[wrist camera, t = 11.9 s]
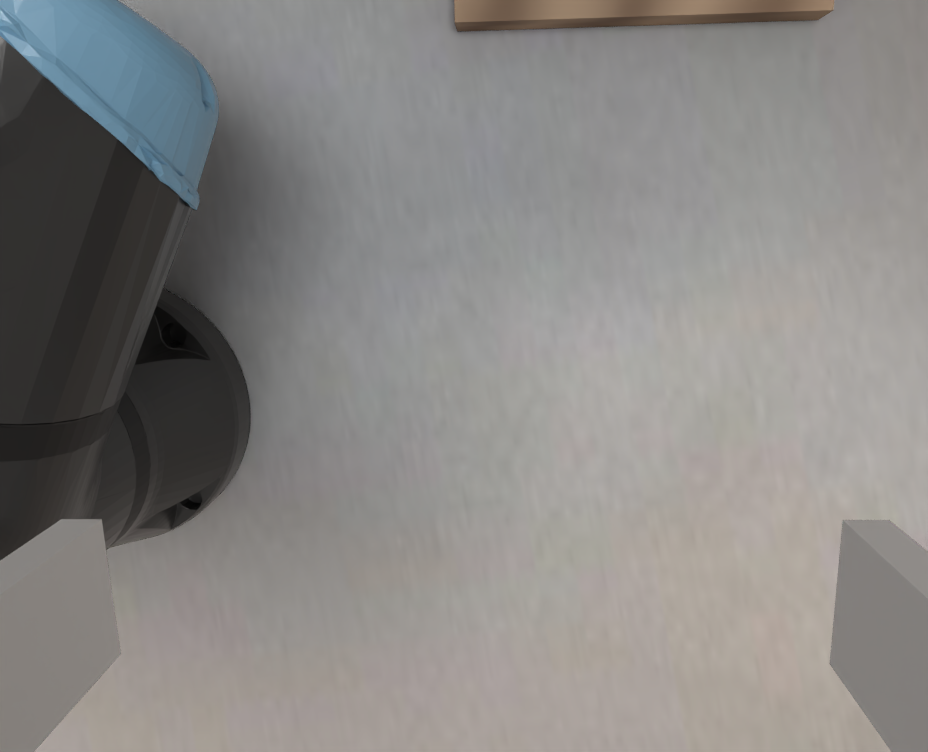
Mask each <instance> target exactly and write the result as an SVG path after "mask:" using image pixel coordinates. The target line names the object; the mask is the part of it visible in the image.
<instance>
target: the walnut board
mask: <svg viewBox="0 0 928 752" xmlns="http://www.w3.org/2000/svg"><path fill="white" fill-rule="evenodd" d="M454 4H455V25H456V28H457V31H484V30H516V29H548V28H579V27H611V26H642V25H674V24H705V23H737V22H768V21H800V20H819V19H820V18H822V17H823V16H825V15H826V14H828V13H830V12H831V11H833V7H834V0H454Z"/></svg>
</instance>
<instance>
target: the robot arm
mask: <svg viewBox="0 0 928 752" xmlns="http://www.w3.org/2000/svg"><path fill="white" fill-rule="evenodd" d="M218 116H219V103H218V96H217V92H216V89H215V86H214V83H213V81H212V79H211V77H210V76H209V74H208V73H207V71H206V70H205V68H204V67H203V65H202V64H201V63H200V62H199V61H198V60H197V59H196V58H195V57H194V56H193V55H192V54H191V53H190V52H189V51H188V50H186V49H185V48H184V47H183V46H181V45H180V44H179V43H177V42H176V41H175V40H173V39H172V38H171V37H169V36H168V35H166V34H165V33H164V32H162V31H161V30H160V29H158V28H157V27H156V26H154V25H153V24H152V23H150V22H149V21H147V20H146V19H144V18H143V17H141V16H140V15H139V14H137V13H136V12H134V11H133V10H131V9H130V8H128V7H127V6H126V5H124V4H123V3H121V2H120V1H118V0H0V752H34V751H35V750H36V749H37V748H38V747H39V746H40V745H41V743H42V742H43V741H44V740H45V739H46V738H47V737H48V735H49V734H50V733H51V732H52V731H53V730H54V729H55V728H56V726H57V725H58V724H59V723H60V722H61V721H62V720H63V719H64V717H65V716H66V715H67V714H68V713H69V712H70V711H71V710H72V708H73V707H74V706H75V705H76V704H77V703H78V702H79V701H80V699H81V698H82V697H83V696H84V695H85V694H86V693H87V692H88V690H89V689H90V688H91V687H92V686H93V685H94V684H95V683H96V681H97V680H98V679H99V678H100V677H101V676H102V675H103V674H104V672H105V671H106V670H107V669H108V668H109V667H110V666H111V665H112V663H113V662H114V661H115V660H116V659H117V658H118V657H119V656H120V654H121V651H120V644H119V637H118V630H117V623H116V616H115V609H114V602H113V595H112V588H111V581H110V574H109V567H108V560H107V553H106V550H107V549H108V548H110V547H114V546H118V545H122V544H126V543H130V542H134V541H138V540H142V539H146V538H150V537H154V536H158V535H161V534H164V533H166V532H169V531H171V530H173V529H175V528H177V527H179V526H181V525H183V524H184V523H186V522H188V521H189V520H191V519H192V518H194V517H195V516H196V515H198V514H199V513H200V512H201V511H202V510H203V509H204V508H206V507H207V506H208V505H209V504H210V503H211V502H212V501H213V500H214V499H215V498H216V497H217V496H218V495H219V494H220V493H221V492H222V491H223V490H224V489H225V488H226V486H227V485H228V484H229V482H230V481H231V479H232V478H233V477H234V475H235V473H236V471H237V469H238V468H239V465H240V463H241V461H242V458H243V456H244V453H245V449H246V446H247V441H248V436H249V428H250V406H249V397H248V392H247V388H246V384H245V380H244V377H243V374H242V371H241V369H240V366H239V364H238V362H237V360H236V358H235V356H234V354H233V352H232V350H231V349H230V347H229V345H228V344H227V342H226V341H225V339H224V338H223V337H222V335H221V334H220V333H219V332H218V330H217V329H216V328H215V327H214V326H213V325H212V324H211V322H210V321H209V320H208V319H207V318H205V317H204V316H203V315H202V314H201V313H200V312H199V311H198V310H196V309H195V308H194V307H193V306H191V305H190V304H188V303H187V302H185V301H184V300H182V299H181V298H179V297H177V296H176V295H174V294H172V293H170V292H168V291H166V290H163V286H164V284H165V281H166V278H167V276H168V273H169V270H170V267H171V265H172V262H173V259H174V257H175V254H176V251H177V249H178V246H179V243H180V240H181V238H182V235H183V232H184V230H185V227H186V224H187V222H188V219H189V216H190V213H191V211H192V209H194V210H197V208H198V205H199V199H200V197H199V194H198V191H197V189H198V185H199V182H200V178H201V175H202V172H203V168H204V165H205V162H206V158H207V155H208V152H209V149H210V145H211V142H212V139H213V135H214V132H215V129H216V125H217V122H218ZM830 665H831V667H832V668H833V669H834V671H835V672H836V674H837V675H838V676H839V678H840V679H841V681H842V682H843V684H844V685H845V686H846V688H847V689H848V691H849V692H850V693H851V695H852V696H853V698H854V699H855V701H856V702H857V703H858V705H859V706H860V708H861V709H862V711H863V712H864V713H865V715H866V716H867V718H868V719H869V720H870V722H871V723H872V725H873V726H874V728H875V729H876V730H877V732H878V733H879V735H880V736H881V737H882V739H883V740H884V742H885V743H886V745H887V746H888V747H889V749H890V750H891V752H928V551H927V550H926V549H924V548H923V547H922V546H921V545H919V544H918V543H917V542H916V541H914V540H913V539H912V538H911V537H910V536H908V535H907V534H906V533H905V532H903V531H902V530H901V529H900V528H898V527H897V526H896V525H895V524H894V523H892V522H891V521H890V520H843V522H842V533H841V544H840V555H839V566H838V577H837V588H836V599H835V610H834V621H833V633H832V644H831V655H830Z"/></svg>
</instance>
